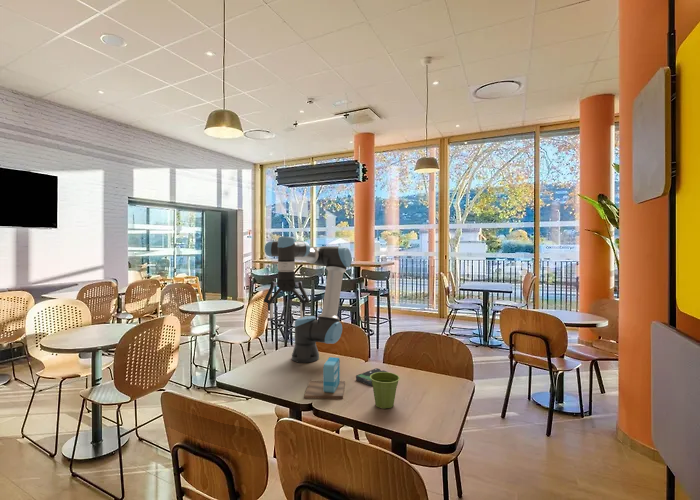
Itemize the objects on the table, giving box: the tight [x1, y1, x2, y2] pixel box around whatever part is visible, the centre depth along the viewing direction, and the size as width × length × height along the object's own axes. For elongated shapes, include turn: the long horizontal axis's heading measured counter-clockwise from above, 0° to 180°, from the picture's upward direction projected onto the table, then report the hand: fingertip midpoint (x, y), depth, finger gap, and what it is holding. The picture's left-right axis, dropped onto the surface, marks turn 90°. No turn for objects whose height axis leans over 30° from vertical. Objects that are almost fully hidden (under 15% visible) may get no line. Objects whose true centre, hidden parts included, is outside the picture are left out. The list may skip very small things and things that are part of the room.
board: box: [304, 380, 346, 400], centre depth 156 cm, size 16×16×1 cm
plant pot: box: [370, 371, 401, 410], centre depth 141 cm, size 12×12×11 cm
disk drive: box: [355, 368, 388, 387], centre depth 169 cm, size 10×3×15 cm
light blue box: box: [322, 357, 341, 393], centre depth 155 cm, size 12×4×12 cm, turn 169°
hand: (286, 318), depth 161 cm, fingers open, 13 cm apart
